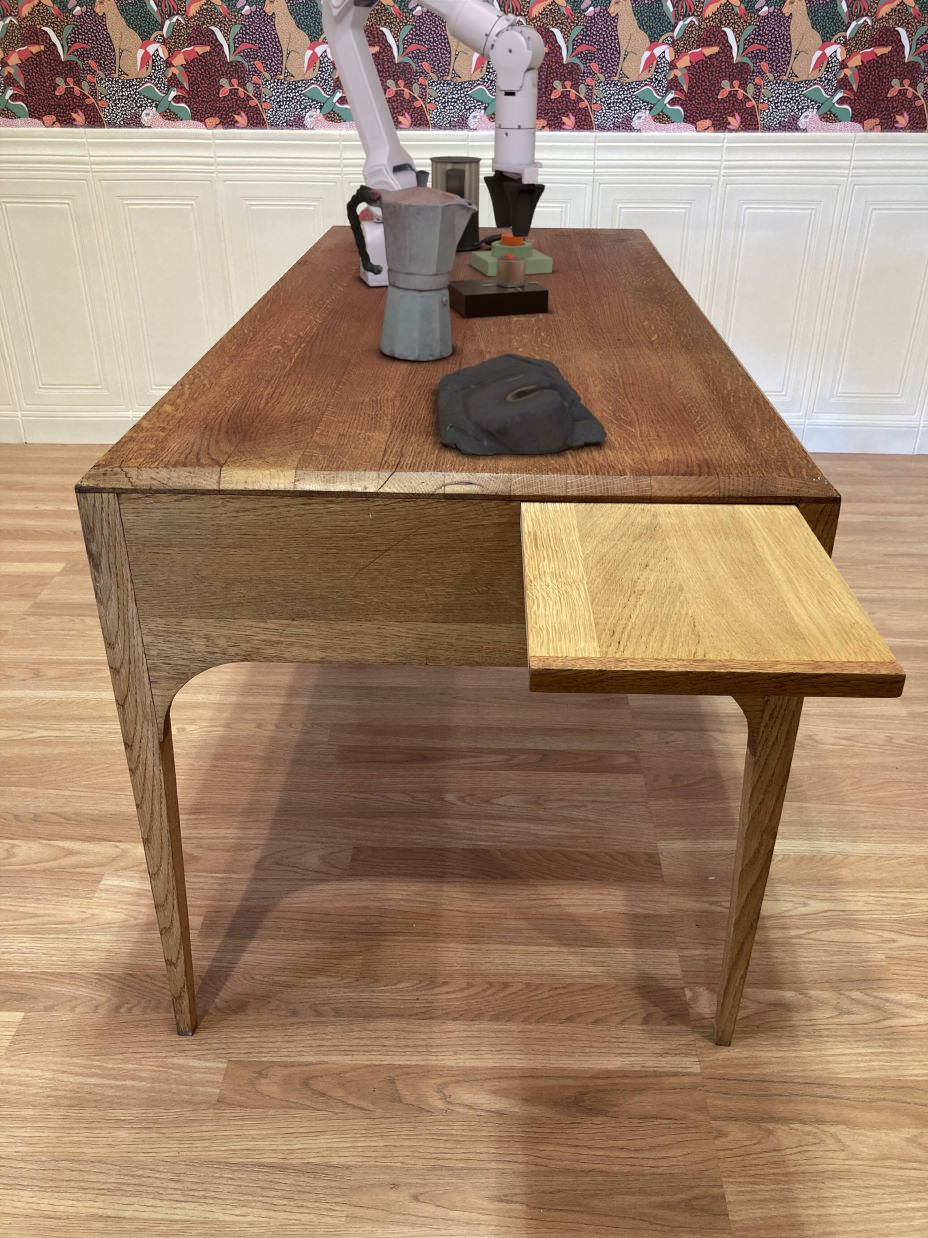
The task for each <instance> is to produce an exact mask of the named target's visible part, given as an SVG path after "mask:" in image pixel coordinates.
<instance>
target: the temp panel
mask: <svg viewBox="0 0 928 1238" xmlns="http://www.w3.org/2000/svg"><path fill="white" fill-rule="evenodd" d="M447 288H448V292H449V305H450V307H451V308H453V309H454V310H455V311H456V312H457V313H458V314H460V315H461V316H462V317H464V318H465V319H466V318H480V317H481V318H482V317H495V316H496V317H497V316H498V317H499V316H511V315H526V314H541V313H548V309H549V291H550V289H548V288H546V287H545V286H542V285H541V284H539V281H534V280H533V279H530V278H529V277H527V276H525V285H524V286H521V287H501V286H498V285H497V284H496V278H483V279H481V278H480V279H468V280H467V279H466V280H450V282H449V285H448V286H447Z"/></svg>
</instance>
